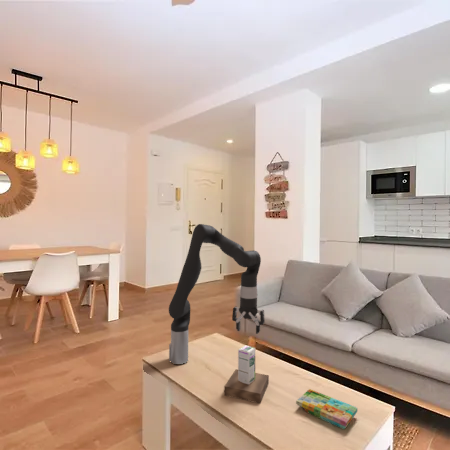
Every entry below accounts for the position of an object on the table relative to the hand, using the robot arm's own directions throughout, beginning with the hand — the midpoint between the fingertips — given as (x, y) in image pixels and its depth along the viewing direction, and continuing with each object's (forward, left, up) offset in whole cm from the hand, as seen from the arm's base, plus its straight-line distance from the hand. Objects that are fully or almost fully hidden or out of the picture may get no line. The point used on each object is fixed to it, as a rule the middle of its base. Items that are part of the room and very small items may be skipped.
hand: (248, 331), depth 137 cm
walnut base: (0, 0, -26) cm, 26 cm away
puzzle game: (+34, -5, -27) cm, 43 cm away
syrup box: (0, 0, -22) cm, 22 cm away
